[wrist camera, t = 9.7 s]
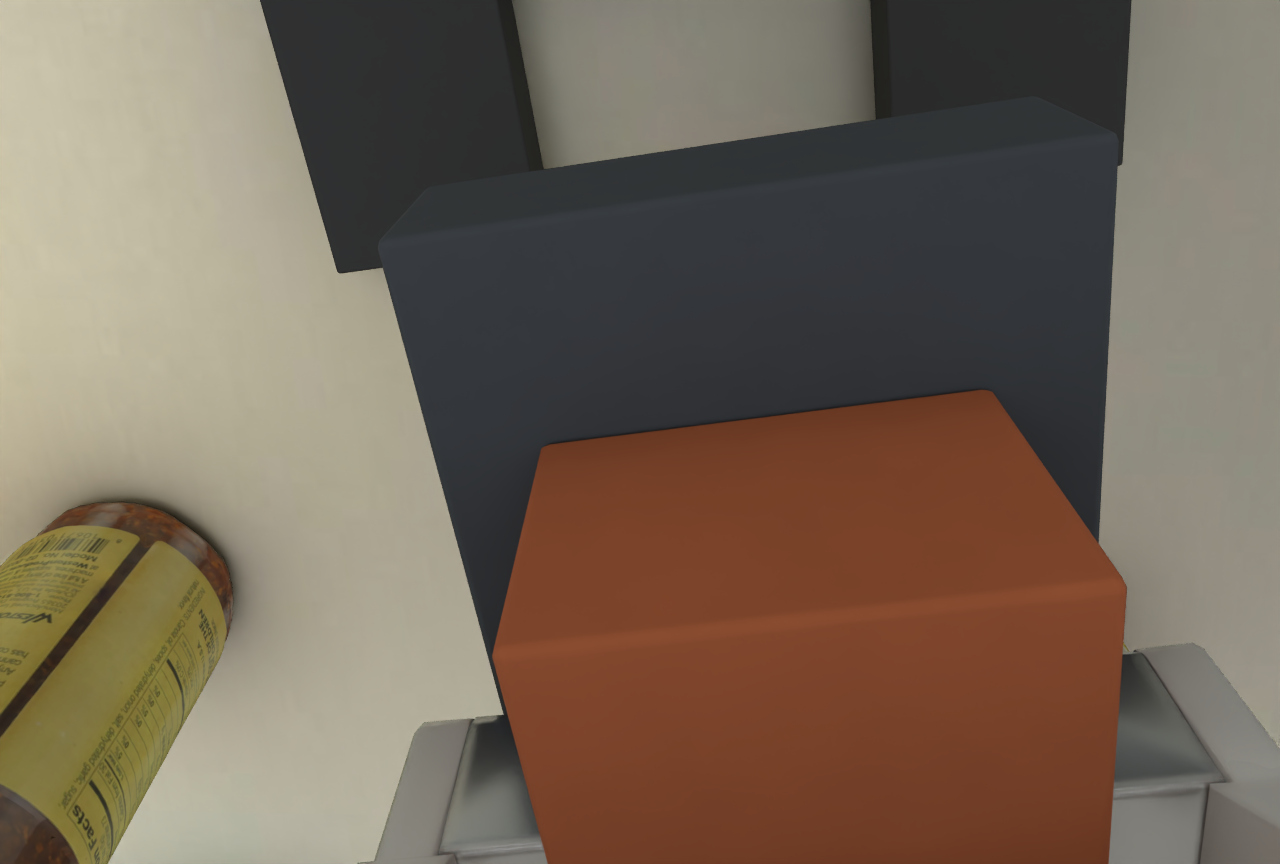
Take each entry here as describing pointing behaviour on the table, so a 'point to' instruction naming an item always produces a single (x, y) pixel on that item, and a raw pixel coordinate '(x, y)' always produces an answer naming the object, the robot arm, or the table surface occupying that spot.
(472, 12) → the base pad
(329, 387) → the table surface
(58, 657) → the sauce bottle
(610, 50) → the table surface
